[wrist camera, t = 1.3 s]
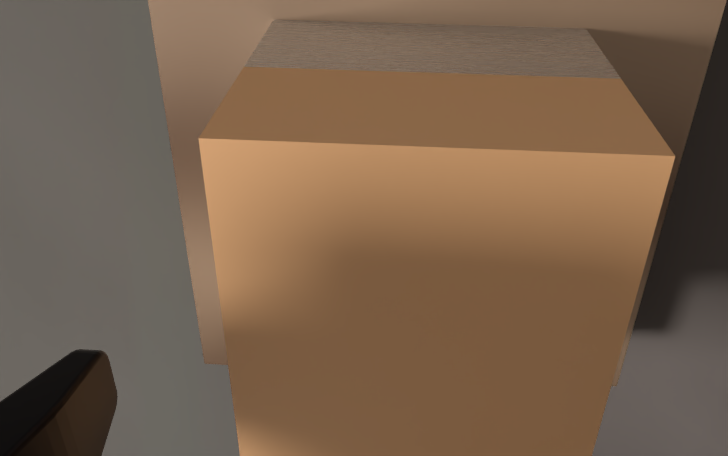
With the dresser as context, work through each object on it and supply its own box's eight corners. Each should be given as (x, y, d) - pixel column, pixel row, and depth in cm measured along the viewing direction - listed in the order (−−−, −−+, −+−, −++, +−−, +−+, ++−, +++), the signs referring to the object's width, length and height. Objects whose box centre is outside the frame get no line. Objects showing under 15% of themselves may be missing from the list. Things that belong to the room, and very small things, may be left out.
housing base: (530, 333, 16) (547, 416, 14) (292, 320, 16) (273, 400, 14) (585, 28, 12) (621, 78, 10) (273, 19, 12) (243, 66, 10)
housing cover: (547, 416, 14) (571, 530, 12) (273, 400, 14) (247, 509, 12) (621, 78, 10) (675, 156, 8) (243, 66, 10) (198, 138, 8)
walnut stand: (597, 330, 18) (616, 386, 16) (223, 312, 19) (204, 363, 17) (701, -80, 13) (743, -60, 11) (172, -91, 13) (136, -74, 12)
